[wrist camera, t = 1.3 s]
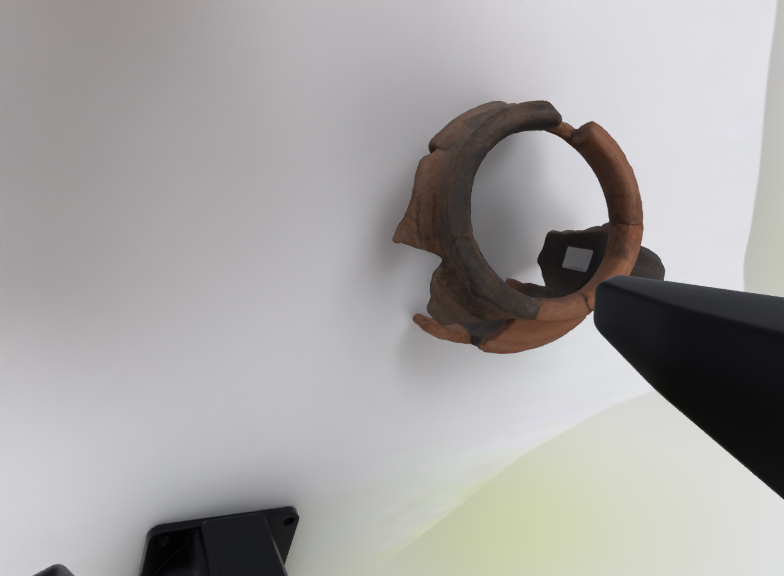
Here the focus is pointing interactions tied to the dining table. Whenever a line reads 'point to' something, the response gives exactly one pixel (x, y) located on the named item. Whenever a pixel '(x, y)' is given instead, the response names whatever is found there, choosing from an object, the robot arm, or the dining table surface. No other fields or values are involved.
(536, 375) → the dining table surface
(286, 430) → the dining table surface
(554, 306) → the brown broken ring
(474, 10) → the dining table surface
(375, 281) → the dining table surface
